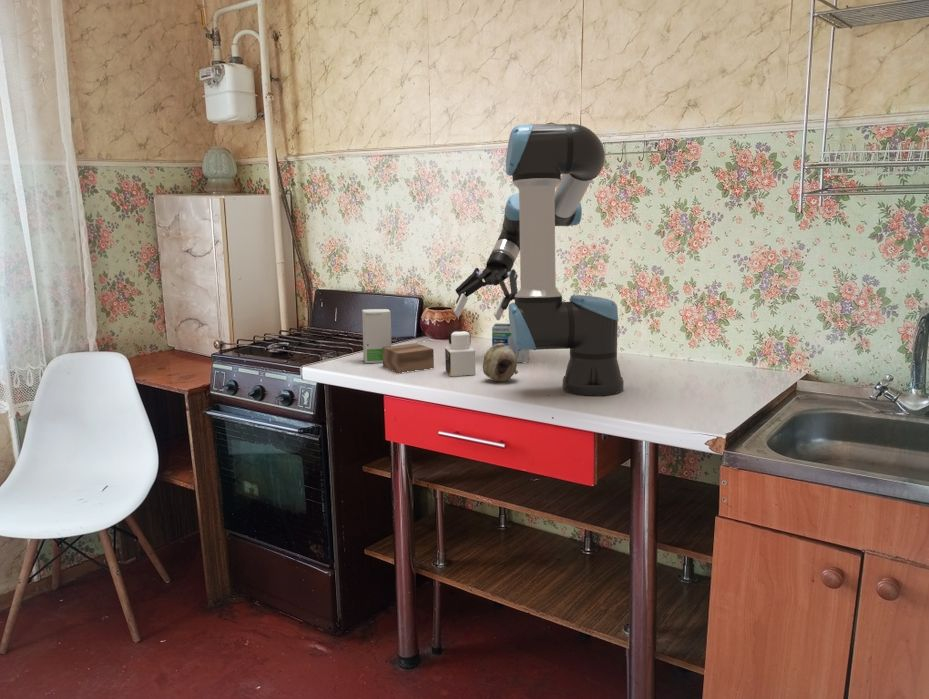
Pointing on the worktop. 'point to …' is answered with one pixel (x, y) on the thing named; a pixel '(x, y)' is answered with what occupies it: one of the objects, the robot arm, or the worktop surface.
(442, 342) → the worktop surface
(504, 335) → the light bulb box
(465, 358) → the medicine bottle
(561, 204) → the robot arm
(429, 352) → the walnut block
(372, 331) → the skincare box
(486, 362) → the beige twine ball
